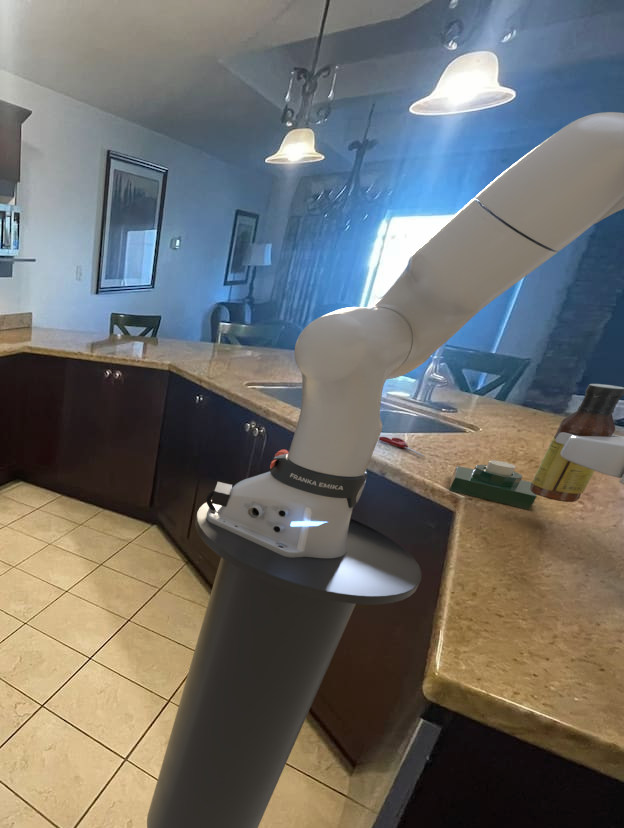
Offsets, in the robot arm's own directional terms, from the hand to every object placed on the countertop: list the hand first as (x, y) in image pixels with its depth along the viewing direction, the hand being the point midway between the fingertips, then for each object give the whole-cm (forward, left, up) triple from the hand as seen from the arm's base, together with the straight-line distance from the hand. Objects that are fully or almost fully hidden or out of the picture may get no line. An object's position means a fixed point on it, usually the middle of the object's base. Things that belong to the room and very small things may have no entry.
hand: (579, 437), depth 84 cm
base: (-6, +13, -17) cm, 22 cm away
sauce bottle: (0, 0, -11) cm, 11 cm away
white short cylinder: (-6, +13, -12) cm, 19 cm away
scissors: (-22, +35, -17) cm, 45 cm away
